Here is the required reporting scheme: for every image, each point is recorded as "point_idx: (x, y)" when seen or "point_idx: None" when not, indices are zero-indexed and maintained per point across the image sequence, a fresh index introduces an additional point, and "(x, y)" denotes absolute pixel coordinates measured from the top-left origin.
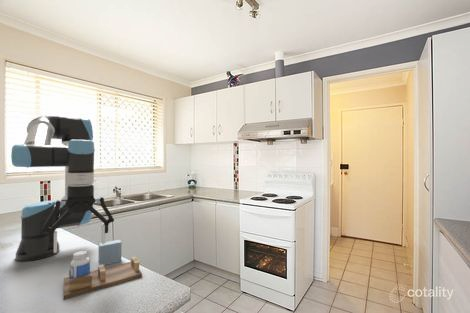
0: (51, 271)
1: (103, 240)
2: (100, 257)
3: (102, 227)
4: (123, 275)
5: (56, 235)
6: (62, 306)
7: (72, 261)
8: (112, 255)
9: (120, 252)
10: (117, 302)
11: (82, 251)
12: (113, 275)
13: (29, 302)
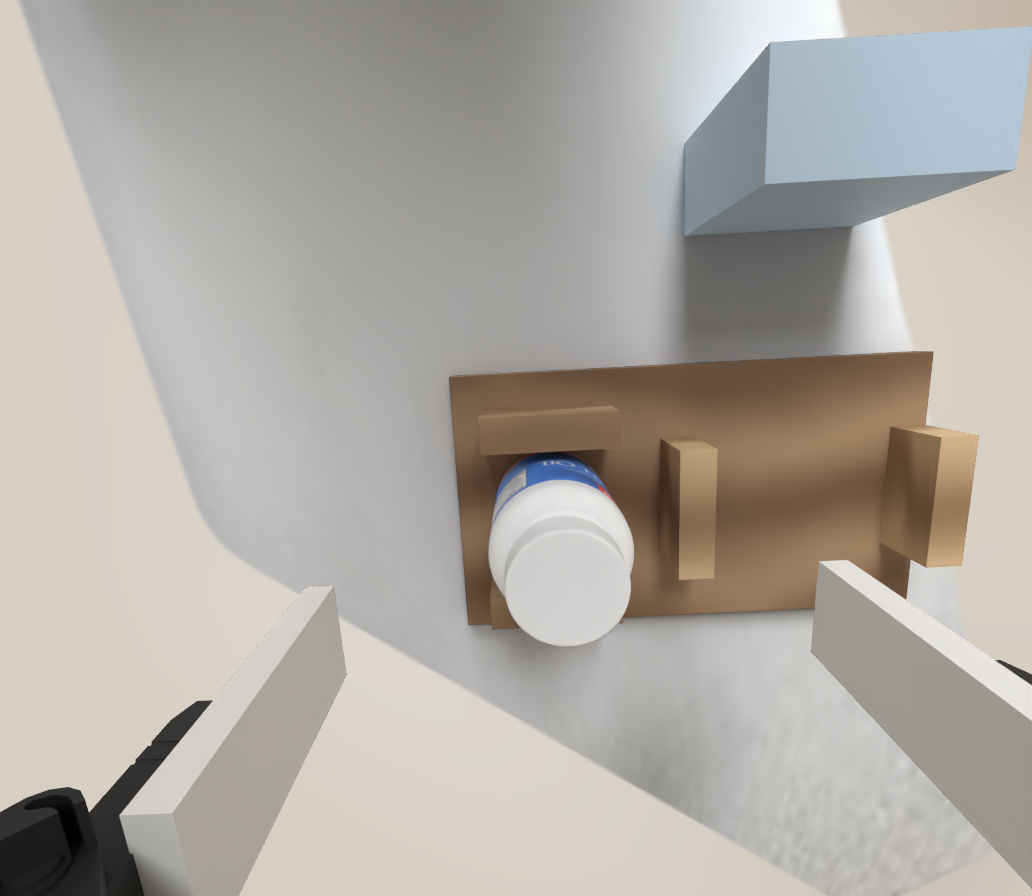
0: (346, 115)
1: (850, 680)
2: (718, 217)
3: (1016, 864)
4: (799, 564)
5: (239, 885)
6: (471, 676)
7: (501, 573)
8: (820, 212)
9: (903, 207)
10: (703, 776)
11: (589, 556)
12: (744, 528)
13: (311, 546)
